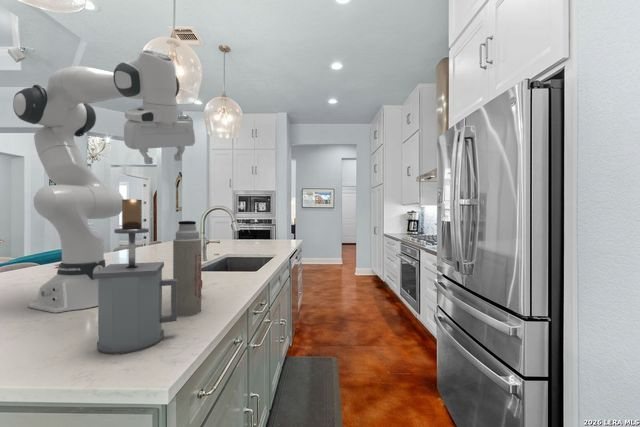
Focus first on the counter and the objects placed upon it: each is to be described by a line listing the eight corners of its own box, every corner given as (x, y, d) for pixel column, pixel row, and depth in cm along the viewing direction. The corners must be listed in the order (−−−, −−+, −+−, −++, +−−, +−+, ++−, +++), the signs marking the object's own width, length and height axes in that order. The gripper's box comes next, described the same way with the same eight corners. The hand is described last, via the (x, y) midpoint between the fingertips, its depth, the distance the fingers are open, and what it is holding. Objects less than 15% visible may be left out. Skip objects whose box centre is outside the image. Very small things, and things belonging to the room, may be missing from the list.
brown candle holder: (100, 285, 68) (100, 198, 68) (113, 276, 78) (113, 199, 77) (151, 282, 71) (151, 199, 71) (158, 273, 81) (158, 200, 81)
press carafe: (87, 358, 66) (87, 274, 66) (107, 333, 79) (107, 263, 79) (173, 347, 71) (174, 270, 71) (179, 326, 84) (179, 260, 84)
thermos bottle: (206, 308, 99) (206, 220, 99) (191, 317, 92) (191, 221, 91) (183, 306, 101) (184, 220, 101) (167, 315, 93) (167, 221, 93)
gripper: (186, 114, 100) (187, 157, 104) (118, 112, 83) (123, 163, 88) (198, 116, 97) (199, 160, 101) (131, 115, 80) (136, 168, 85)
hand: (163, 162), depth 95 cm, fingers open, 8 cm apart
